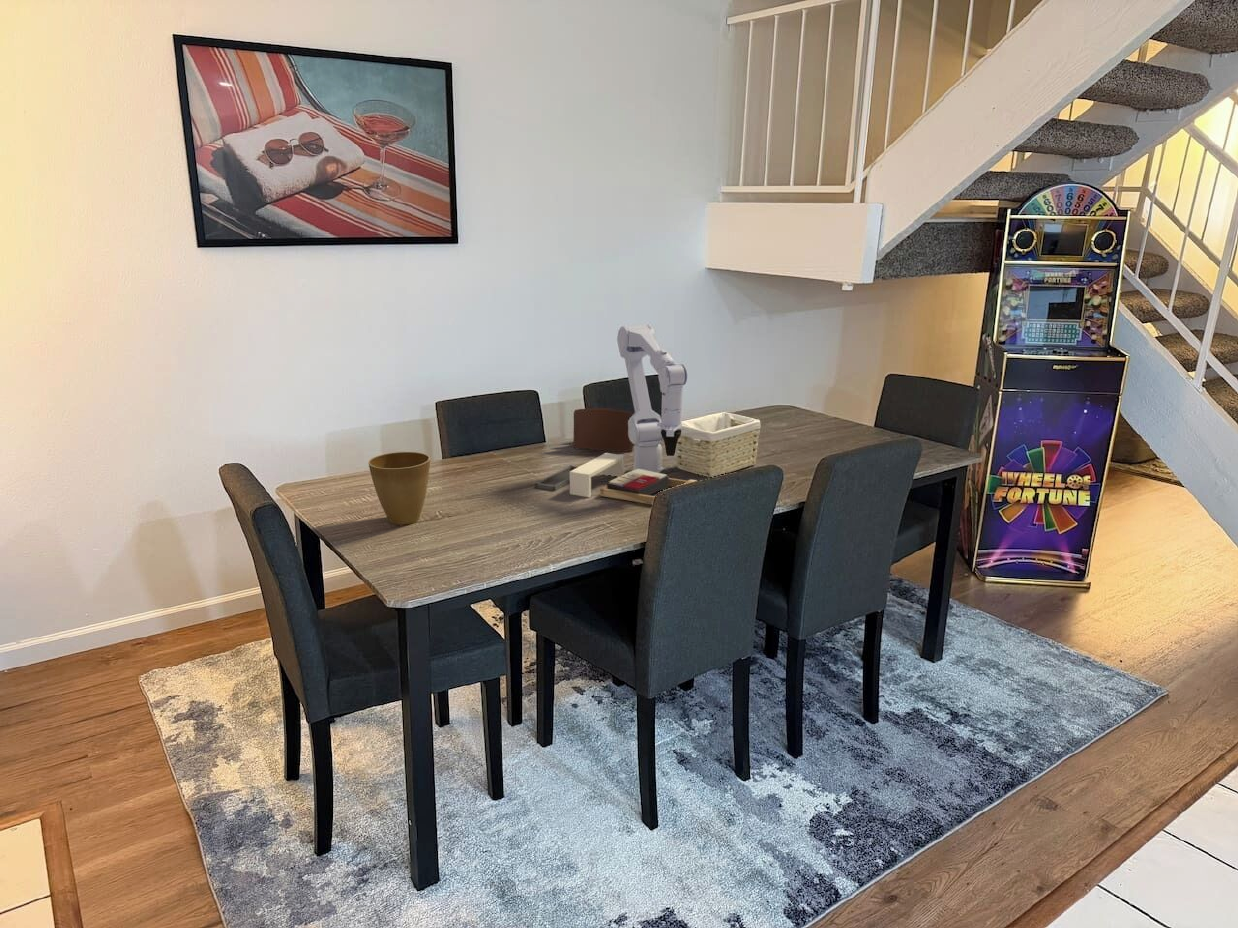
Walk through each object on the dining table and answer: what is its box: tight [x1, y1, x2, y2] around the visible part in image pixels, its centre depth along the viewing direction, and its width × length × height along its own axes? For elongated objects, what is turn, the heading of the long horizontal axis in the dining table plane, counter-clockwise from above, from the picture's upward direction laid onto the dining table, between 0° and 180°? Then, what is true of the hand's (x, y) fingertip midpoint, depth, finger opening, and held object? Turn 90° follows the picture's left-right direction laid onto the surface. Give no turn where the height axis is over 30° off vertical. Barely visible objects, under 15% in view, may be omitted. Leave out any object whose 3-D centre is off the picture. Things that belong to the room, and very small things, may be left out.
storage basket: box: [675, 411, 761, 478], centre depth 268 cm, size 24×16×15 cm
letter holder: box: [573, 407, 634, 453], centre depth 290 cm, size 10×20×14 cm, turn 80°
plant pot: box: [368, 451, 431, 526], centre depth 219 cm, size 15×15×16 cm
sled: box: [599, 477, 698, 505], centre depth 244 cm, size 18×21×2 cm
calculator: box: [606, 469, 670, 496], centre depth 245 cm, size 11×4×15 cm
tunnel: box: [534, 452, 625, 498], centre depth 253 cm, size 22×18×6 cm
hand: (670, 455), depth 248 cm, fingers closed
